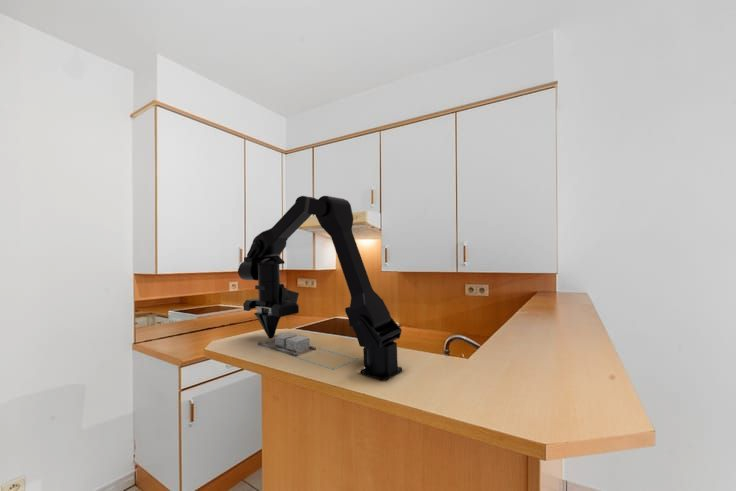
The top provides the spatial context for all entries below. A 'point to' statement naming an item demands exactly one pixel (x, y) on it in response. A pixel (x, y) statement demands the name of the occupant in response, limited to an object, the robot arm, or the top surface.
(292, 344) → the near chip
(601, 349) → the top surface
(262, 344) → the slot board
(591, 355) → the top surface
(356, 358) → the tray
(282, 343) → the pale grey block
